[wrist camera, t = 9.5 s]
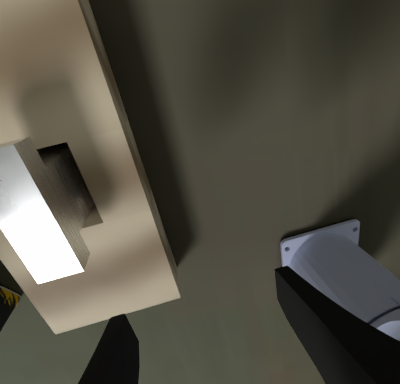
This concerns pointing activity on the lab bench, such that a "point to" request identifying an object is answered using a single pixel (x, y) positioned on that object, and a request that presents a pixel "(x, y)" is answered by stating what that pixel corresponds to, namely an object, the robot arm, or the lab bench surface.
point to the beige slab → (82, 163)
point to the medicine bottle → (7, 304)
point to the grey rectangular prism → (44, 208)
